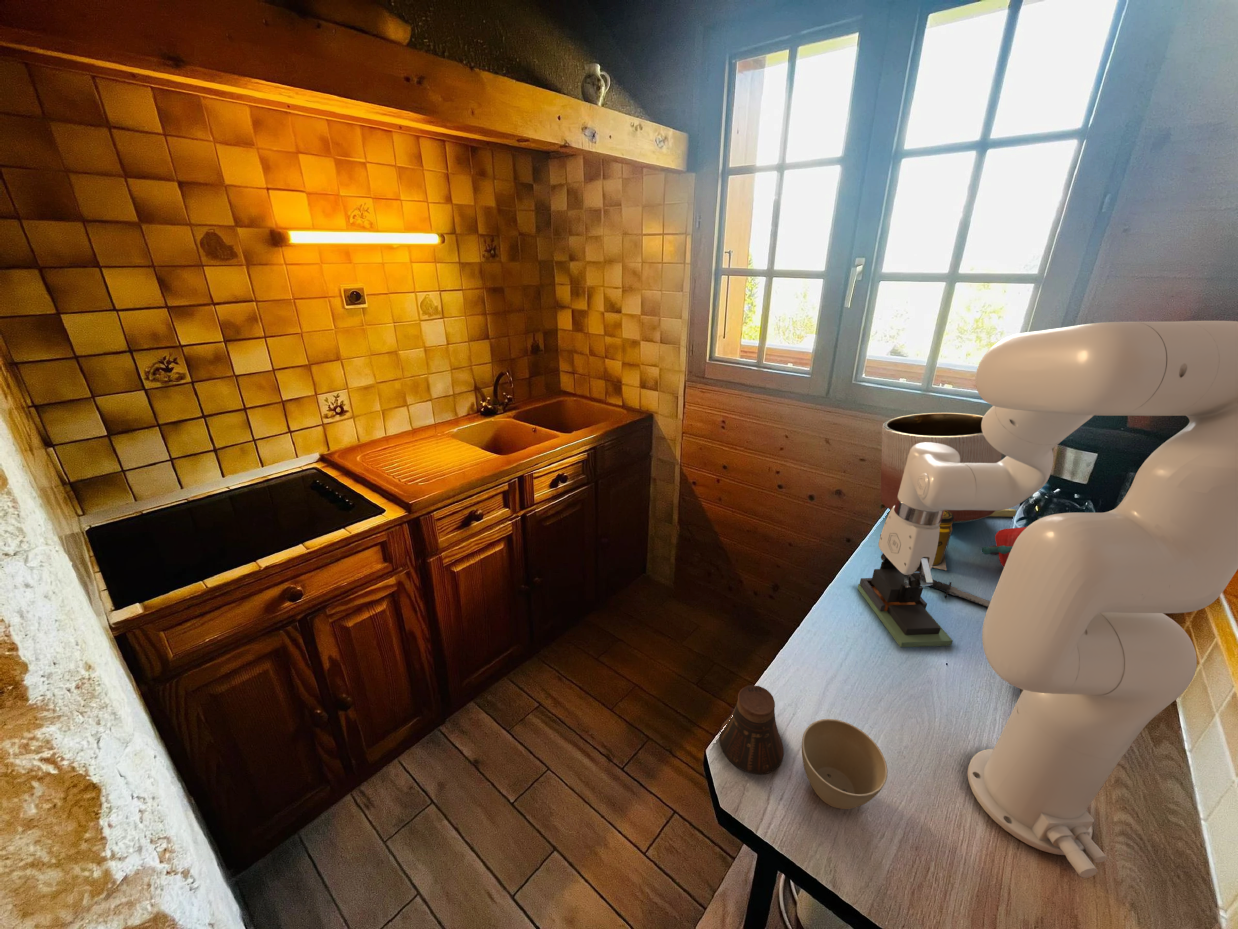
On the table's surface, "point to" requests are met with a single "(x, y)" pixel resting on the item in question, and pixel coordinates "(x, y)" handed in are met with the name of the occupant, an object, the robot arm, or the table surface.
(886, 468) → the planter
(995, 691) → the table surface
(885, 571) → the loose pad
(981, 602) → the knife
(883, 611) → the dock
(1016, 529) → the toy
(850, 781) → the beige bowl
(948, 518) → the condiment
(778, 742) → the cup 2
